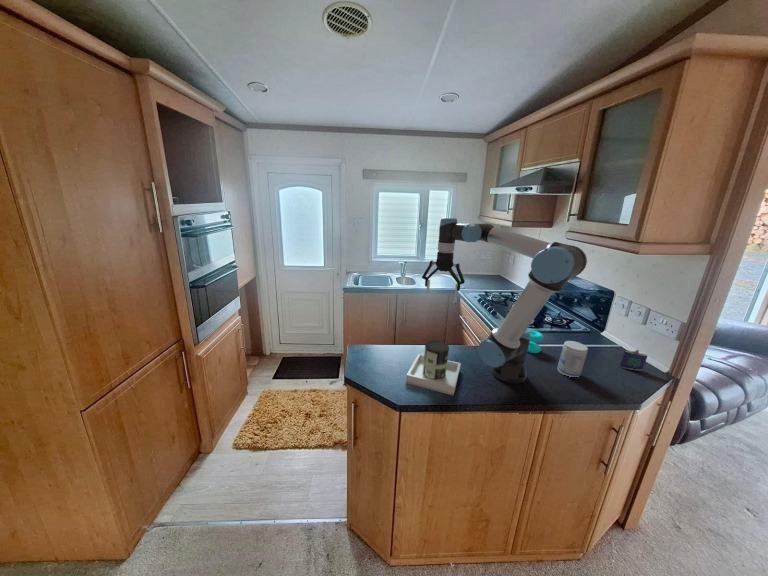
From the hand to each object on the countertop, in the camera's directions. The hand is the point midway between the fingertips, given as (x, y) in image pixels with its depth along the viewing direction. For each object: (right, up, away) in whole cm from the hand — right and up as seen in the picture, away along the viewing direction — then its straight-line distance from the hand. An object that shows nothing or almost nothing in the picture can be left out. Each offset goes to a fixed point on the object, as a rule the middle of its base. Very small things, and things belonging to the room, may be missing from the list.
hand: (441, 295), depth 142 cm
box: (-6, -36, -12) cm, 38 cm away
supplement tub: (+59, -37, -4) cm, 70 cm away
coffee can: (-6, -35, -13) cm, 38 cm away
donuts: (+52, -30, +17) cm, 63 cm away
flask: (+94, -37, +3) cm, 102 cm away
